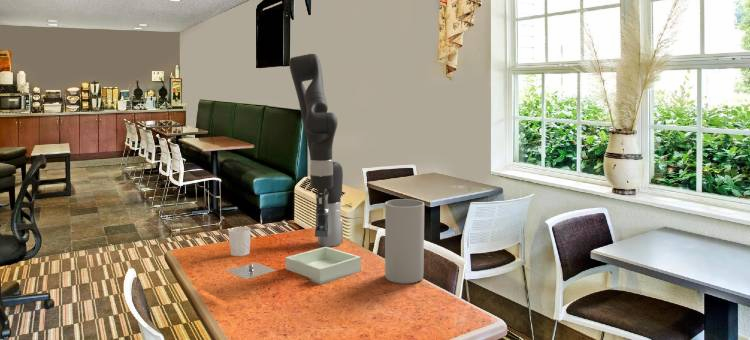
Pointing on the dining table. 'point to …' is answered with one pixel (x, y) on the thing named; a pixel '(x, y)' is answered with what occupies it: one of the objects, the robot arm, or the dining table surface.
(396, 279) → the cylinder vase
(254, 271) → the stud plate
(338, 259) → the sage bin
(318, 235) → the dark grey stamp
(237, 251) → the white cup
